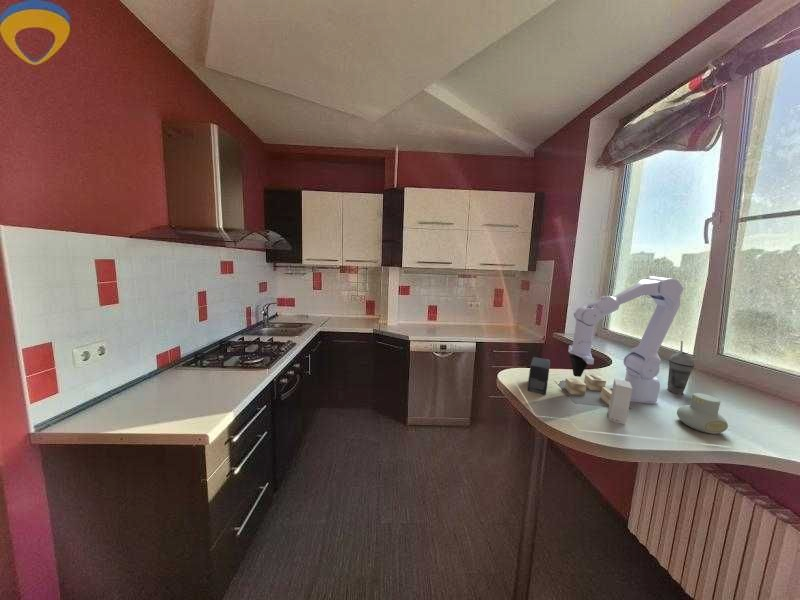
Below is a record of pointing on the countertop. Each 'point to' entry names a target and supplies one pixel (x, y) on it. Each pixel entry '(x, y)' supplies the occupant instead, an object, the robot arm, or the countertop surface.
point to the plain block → (575, 386)
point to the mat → (585, 396)
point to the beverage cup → (679, 371)
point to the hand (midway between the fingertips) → (577, 375)
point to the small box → (538, 375)
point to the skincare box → (620, 401)
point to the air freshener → (703, 414)
